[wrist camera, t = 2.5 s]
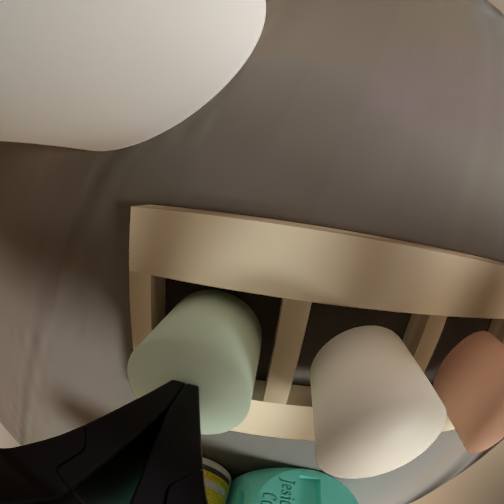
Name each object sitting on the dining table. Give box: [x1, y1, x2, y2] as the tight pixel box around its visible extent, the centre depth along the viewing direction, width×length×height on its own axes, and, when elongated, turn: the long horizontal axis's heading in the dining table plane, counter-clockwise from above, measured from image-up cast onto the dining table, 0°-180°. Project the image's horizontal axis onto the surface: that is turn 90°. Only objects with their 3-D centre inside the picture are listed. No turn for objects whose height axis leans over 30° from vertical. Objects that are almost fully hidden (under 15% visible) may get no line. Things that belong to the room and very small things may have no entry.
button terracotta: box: [433, 331, 504, 454], centre depth 7 cm, size 4×4×4 cm
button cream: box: [310, 325, 446, 479], centre depth 7 cm, size 4×4×4 cm
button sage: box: [127, 290, 263, 434], centre depth 9 cm, size 4×4×4 cm
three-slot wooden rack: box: [129, 204, 504, 440], centre depth 10 cm, size 19×10×2 cm, turn 83°
